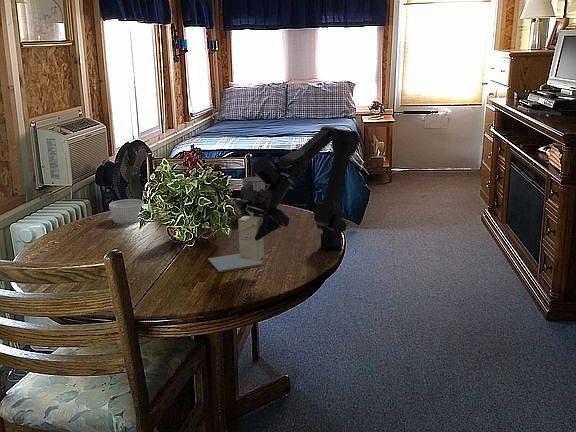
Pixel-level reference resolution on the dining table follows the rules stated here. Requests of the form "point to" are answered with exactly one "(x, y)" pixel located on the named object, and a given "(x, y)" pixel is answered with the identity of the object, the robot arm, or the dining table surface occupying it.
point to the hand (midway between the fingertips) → (247, 237)
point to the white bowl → (126, 210)
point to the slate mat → (232, 263)
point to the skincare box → (250, 238)
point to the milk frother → (251, 187)
